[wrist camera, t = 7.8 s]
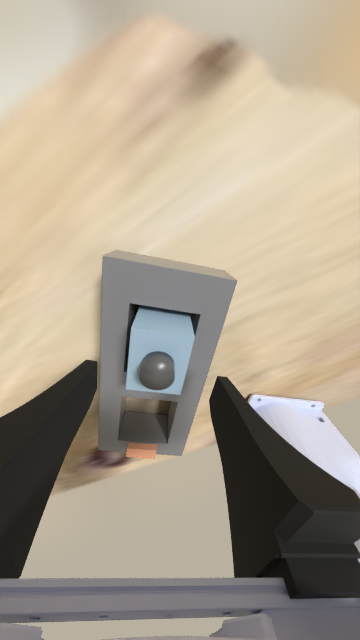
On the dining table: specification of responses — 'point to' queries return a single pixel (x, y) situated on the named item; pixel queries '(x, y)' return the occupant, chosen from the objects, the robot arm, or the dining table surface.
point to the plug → (159, 350)
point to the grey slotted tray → (116, 321)
